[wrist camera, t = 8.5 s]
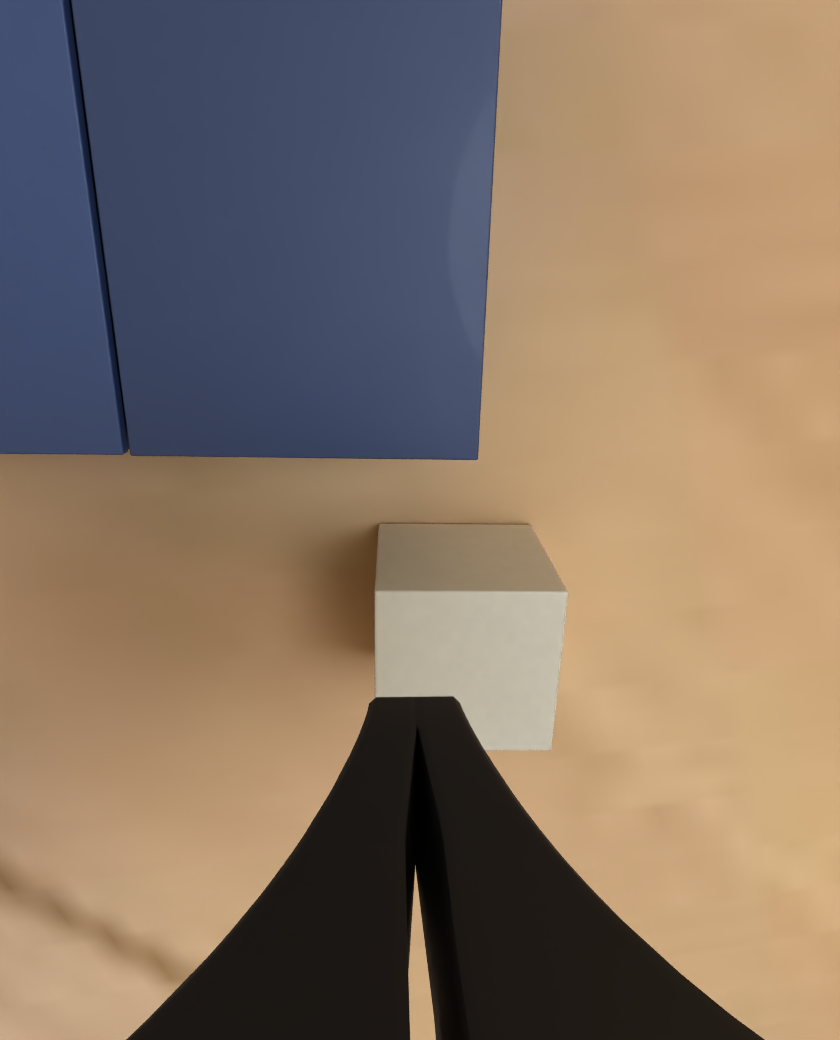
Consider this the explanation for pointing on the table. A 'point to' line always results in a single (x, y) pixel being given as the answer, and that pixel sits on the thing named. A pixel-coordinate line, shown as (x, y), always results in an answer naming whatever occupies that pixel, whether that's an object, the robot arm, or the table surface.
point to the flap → (50, 249)
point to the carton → (294, 220)
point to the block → (472, 625)
